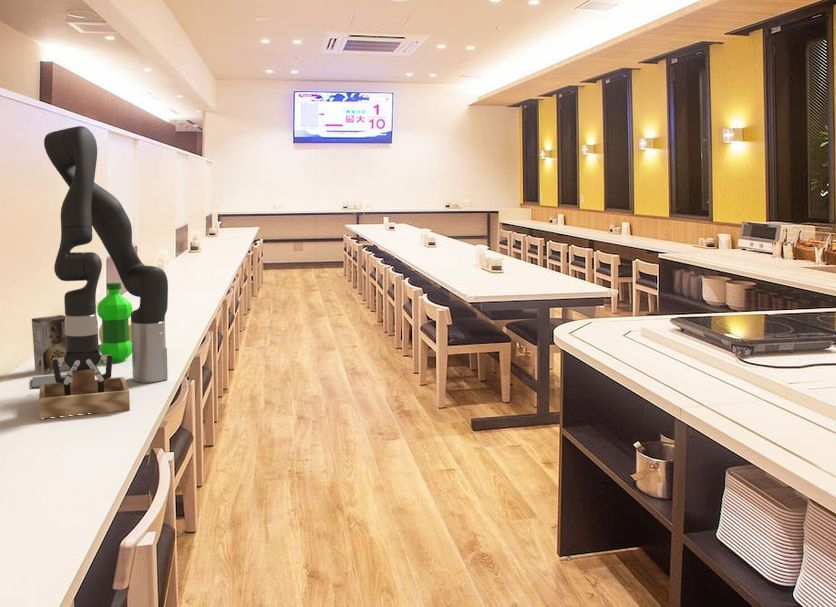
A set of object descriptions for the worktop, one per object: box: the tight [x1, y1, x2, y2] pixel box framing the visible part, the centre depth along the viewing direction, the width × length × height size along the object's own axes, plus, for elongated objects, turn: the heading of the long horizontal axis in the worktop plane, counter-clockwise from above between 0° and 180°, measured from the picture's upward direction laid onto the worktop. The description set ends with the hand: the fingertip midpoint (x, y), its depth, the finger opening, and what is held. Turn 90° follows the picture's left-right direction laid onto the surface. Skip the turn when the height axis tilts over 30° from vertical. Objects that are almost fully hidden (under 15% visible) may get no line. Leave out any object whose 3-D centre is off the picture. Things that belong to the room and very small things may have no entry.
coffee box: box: [31, 314, 70, 375], centre depth 216 cm, size 9×6×16 cm
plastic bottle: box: [96, 282, 133, 363], centre depth 229 cm, size 10×10×25 cm
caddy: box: [38, 376, 131, 420], centre depth 182 cm, size 20×15×5 cm
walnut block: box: [72, 369, 96, 395], centre depth 182 cm, size 5×5×10 cm
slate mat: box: [31, 374, 73, 390], centre depth 204 cm, size 11×11×1 cm
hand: (84, 396), depth 182 cm, fingers open, 6 cm apart
